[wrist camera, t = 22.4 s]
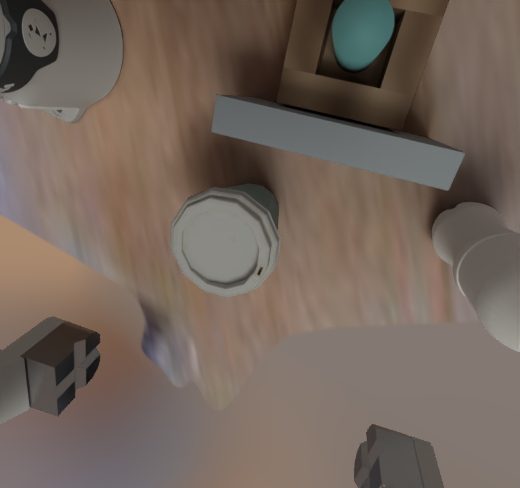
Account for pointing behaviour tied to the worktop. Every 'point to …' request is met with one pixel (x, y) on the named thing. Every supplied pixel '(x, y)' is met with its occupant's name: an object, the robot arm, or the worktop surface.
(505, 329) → the water bottle
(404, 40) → the socket block
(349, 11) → the dowel
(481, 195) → the worktop surface
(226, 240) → the disposable coffee cup
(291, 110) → the wall
